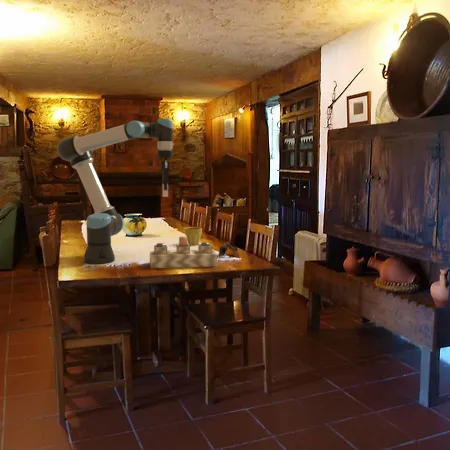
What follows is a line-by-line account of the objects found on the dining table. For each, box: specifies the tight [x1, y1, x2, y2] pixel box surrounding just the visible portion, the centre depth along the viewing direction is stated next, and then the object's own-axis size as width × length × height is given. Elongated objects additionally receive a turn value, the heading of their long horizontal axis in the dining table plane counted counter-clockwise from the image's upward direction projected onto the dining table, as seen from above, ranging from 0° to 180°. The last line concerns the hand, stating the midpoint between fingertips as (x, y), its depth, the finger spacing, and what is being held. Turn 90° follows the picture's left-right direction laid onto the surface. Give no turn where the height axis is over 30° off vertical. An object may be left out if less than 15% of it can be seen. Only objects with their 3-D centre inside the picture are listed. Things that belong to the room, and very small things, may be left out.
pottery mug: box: [218, 241, 239, 257], centre depth 269 cm, size 12×10×8 cm
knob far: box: [200, 241, 210, 246], centre depth 247 cm, size 4×4×4 cm
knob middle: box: [178, 236, 188, 247], centre depth 245 cm, size 4×4×4 cm
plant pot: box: [184, 226, 203, 246], centre depth 299 cm, size 10×10×10 cm
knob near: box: [156, 242, 166, 247], centre depth 243 cm, size 4×4×4 cm
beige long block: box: [149, 243, 218, 269], centre depth 246 cm, size 32×12×10 cm, turn 101°
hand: (165, 196), depth 254 cm, fingers closed
